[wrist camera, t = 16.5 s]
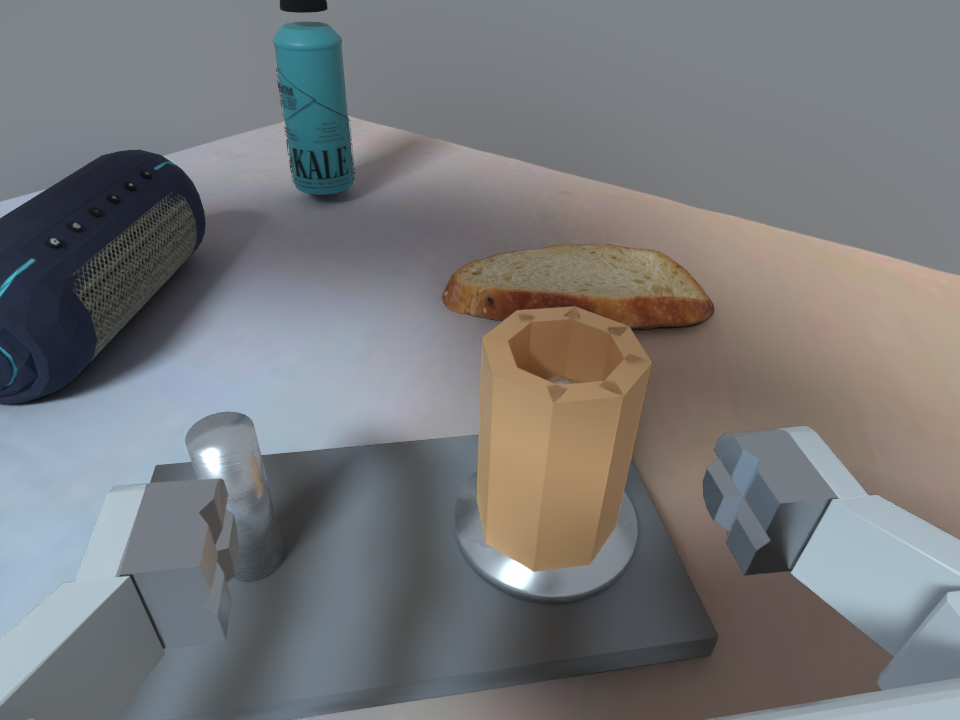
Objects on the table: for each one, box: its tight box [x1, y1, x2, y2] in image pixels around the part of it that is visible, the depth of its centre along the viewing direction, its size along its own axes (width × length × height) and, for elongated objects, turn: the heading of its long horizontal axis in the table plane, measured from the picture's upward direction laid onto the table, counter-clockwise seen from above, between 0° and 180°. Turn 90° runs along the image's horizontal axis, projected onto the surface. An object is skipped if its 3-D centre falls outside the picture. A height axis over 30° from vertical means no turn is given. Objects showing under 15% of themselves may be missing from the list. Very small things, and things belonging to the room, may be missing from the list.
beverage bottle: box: [273, 0, 355, 195], centre depth 64 cm, size 6×7×20 cm
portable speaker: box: [0, 150, 206, 405], centre depth 47 cm, size 25×10×10 cm, turn 176°
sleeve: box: [477, 306, 653, 572], centre depth 29 cm, size 6×6×10 cm
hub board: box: [116, 376, 718, 720], centre depth 30 cm, size 26×14×11 cm, turn 99°
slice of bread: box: [442, 244, 714, 330], centre depth 53 cm, size 18×18×4 cm
